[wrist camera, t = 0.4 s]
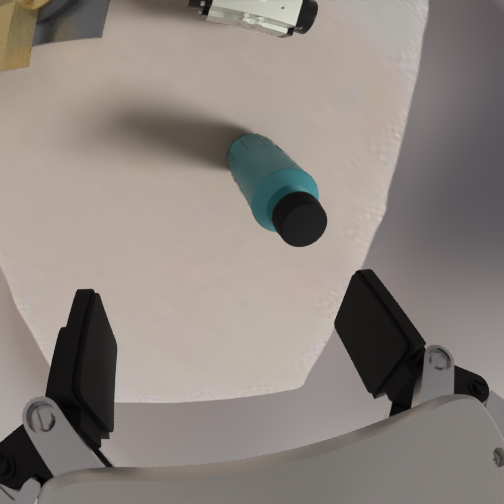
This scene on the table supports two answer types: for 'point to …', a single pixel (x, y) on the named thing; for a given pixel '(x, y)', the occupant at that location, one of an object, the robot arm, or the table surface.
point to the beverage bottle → (277, 190)
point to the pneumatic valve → (260, 14)
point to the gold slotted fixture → (18, 31)
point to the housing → (70, 21)
